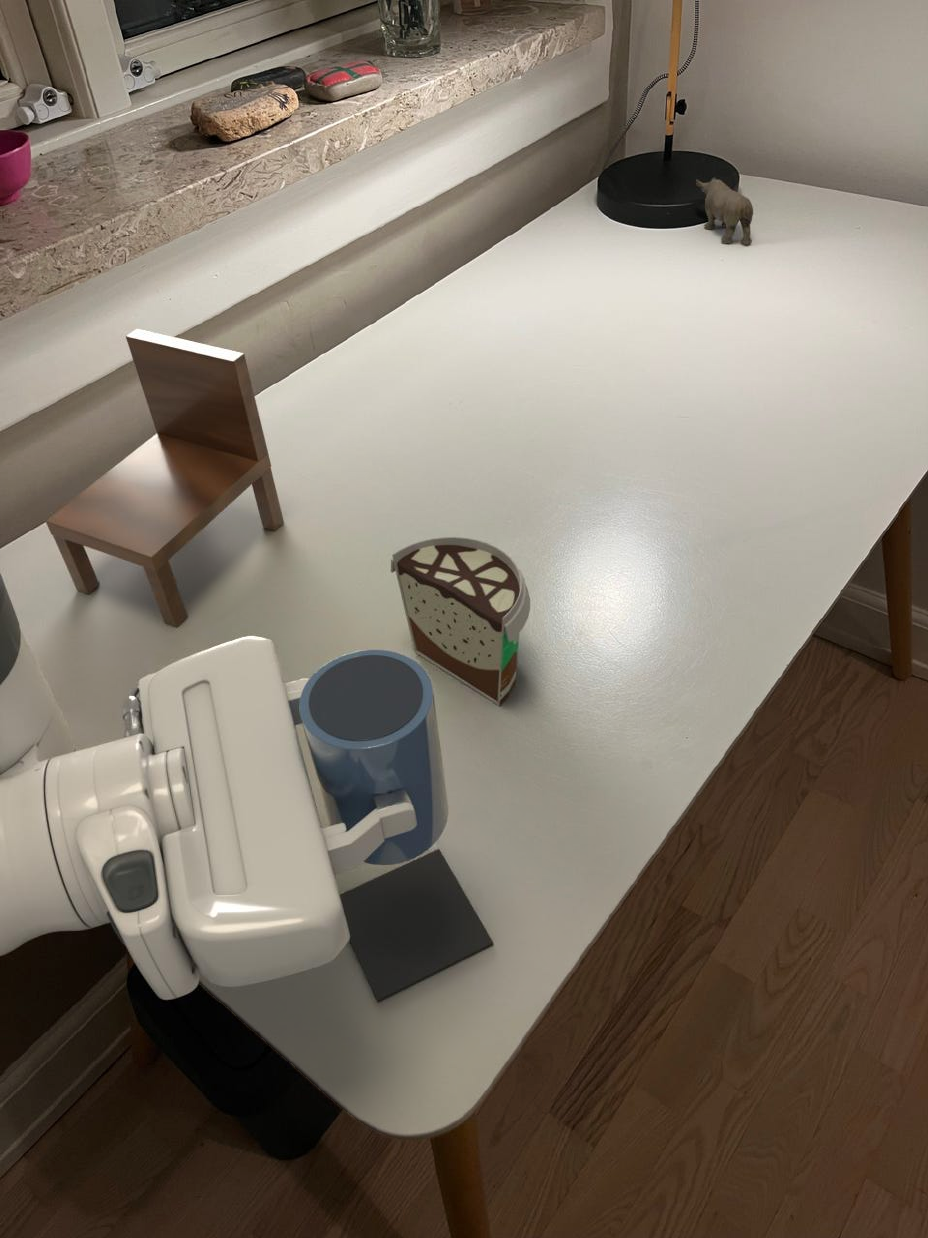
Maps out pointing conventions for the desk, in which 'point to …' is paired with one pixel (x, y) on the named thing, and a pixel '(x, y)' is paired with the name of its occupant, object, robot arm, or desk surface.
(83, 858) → the robot arm
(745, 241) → the rhino figurine
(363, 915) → the mat
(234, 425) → the miniature wooden chair
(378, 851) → the cup
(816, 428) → the desk surface
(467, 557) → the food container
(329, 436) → the desk surface
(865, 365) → the desk surface
